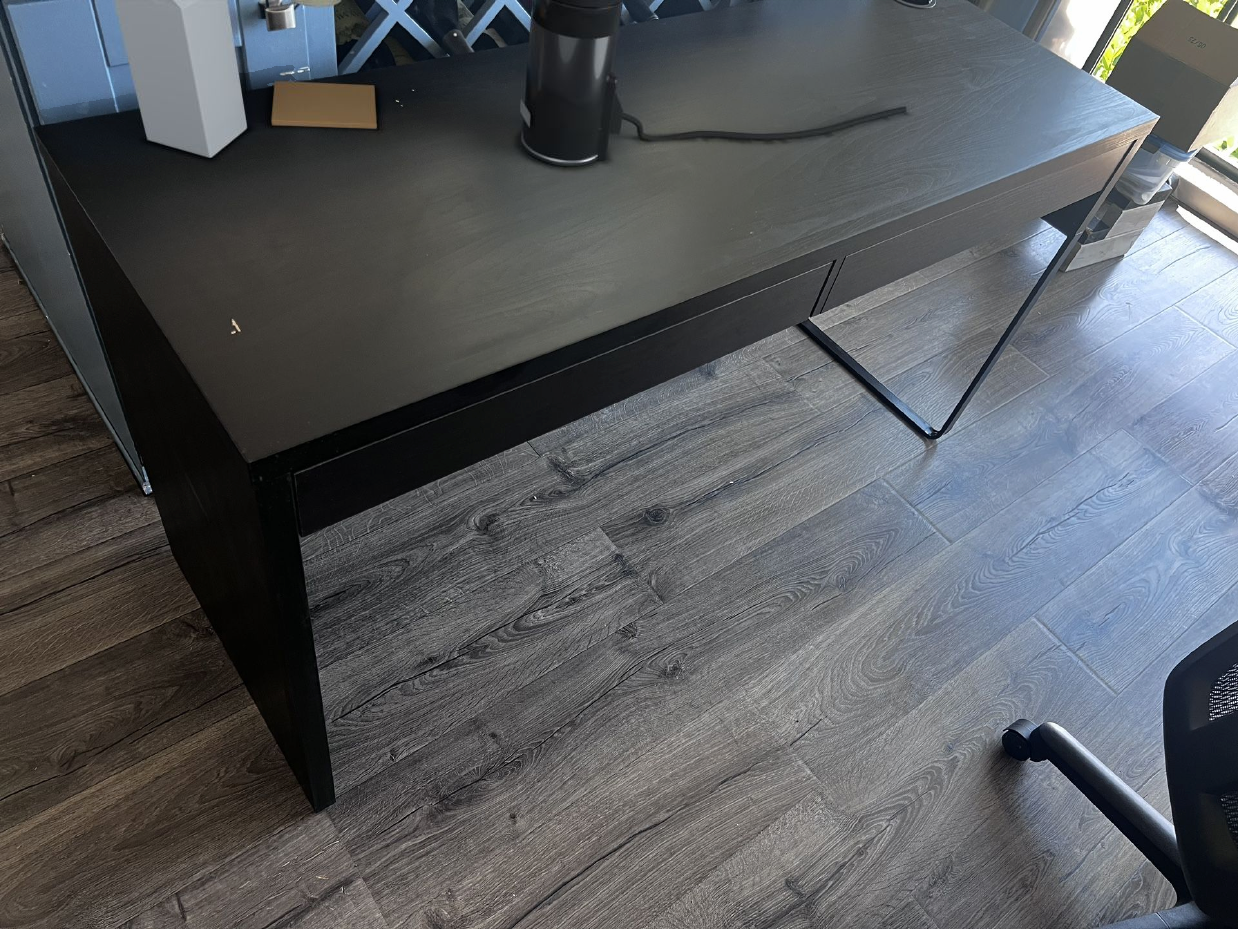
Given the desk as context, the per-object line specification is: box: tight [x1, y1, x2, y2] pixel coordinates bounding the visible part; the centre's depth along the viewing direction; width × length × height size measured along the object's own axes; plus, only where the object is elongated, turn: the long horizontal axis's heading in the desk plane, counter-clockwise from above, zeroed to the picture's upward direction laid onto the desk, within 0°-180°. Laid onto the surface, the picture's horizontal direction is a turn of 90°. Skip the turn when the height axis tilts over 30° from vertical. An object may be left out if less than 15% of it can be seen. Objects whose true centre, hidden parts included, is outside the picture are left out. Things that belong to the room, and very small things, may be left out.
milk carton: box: [113, 0, 248, 158], centre depth 91 cm, size 7×7×19 cm
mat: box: [271, 80, 378, 130], centre depth 106 cm, size 11×9×1 cm
